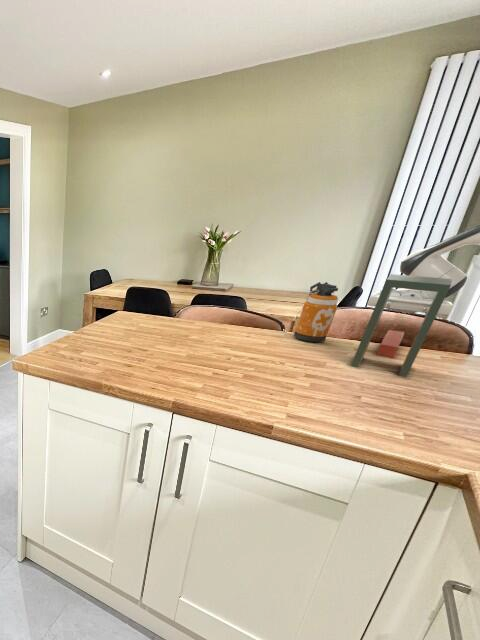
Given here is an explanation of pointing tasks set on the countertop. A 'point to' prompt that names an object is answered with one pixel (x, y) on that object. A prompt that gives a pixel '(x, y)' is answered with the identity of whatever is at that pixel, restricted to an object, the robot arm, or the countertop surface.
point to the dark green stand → (427, 285)
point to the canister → (317, 313)
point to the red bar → (390, 343)
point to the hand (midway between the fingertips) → (406, 308)
